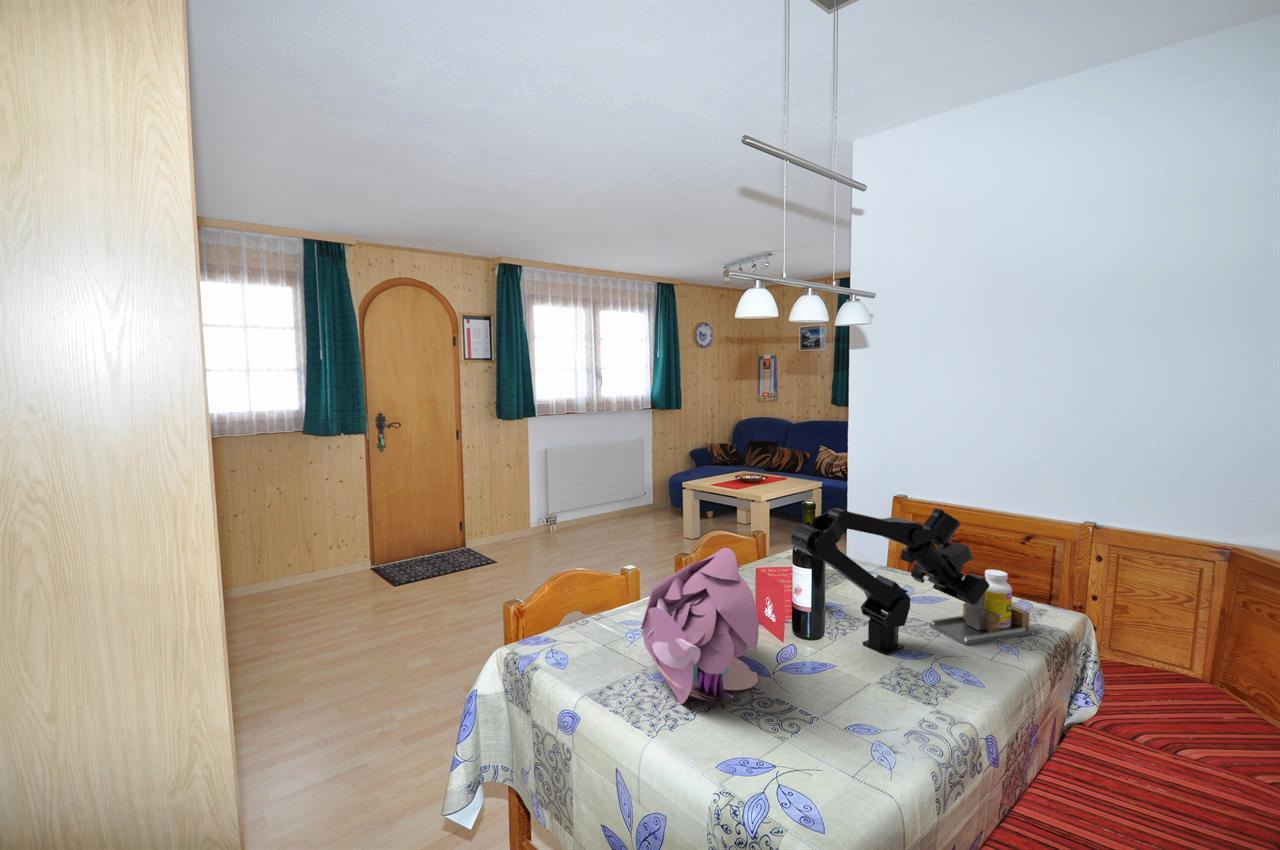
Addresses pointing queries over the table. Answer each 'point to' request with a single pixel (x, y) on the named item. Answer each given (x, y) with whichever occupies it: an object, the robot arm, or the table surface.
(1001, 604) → the supplement bottle
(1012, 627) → the bench clamp
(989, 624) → the sliding jaw
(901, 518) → the robot arm
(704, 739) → the table surface
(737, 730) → the table surface
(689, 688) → the flower arrangement
